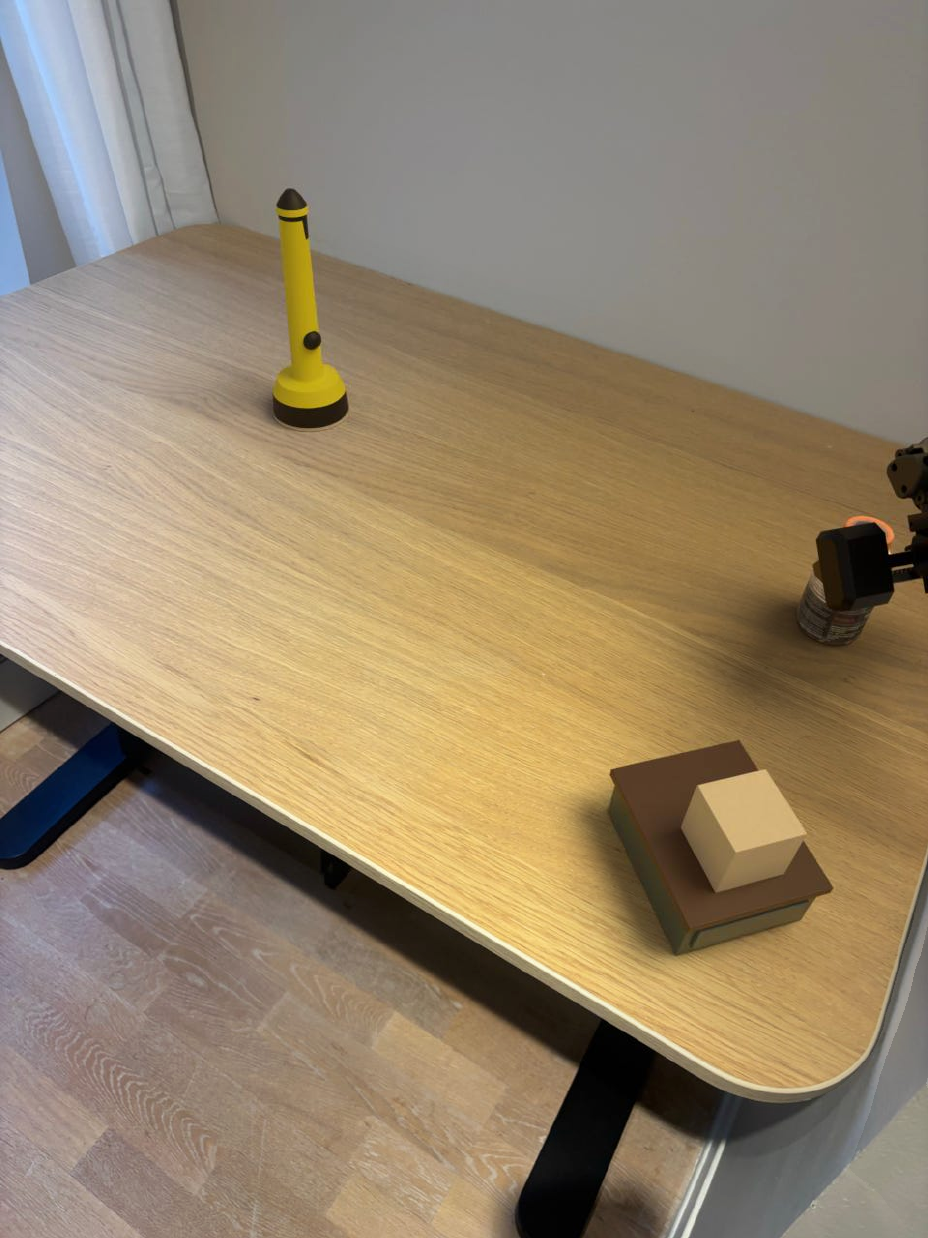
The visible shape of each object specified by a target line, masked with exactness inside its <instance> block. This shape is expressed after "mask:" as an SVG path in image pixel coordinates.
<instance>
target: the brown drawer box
mask: <svg viewBox="0 0 928 1238" xmlns="http://www.w3.org/2000/svg"><path fill="white" fill-rule="evenodd" d="M755 771H759V769H758V767H757V765H756V764H755V762H754V760H752V758H751V756H750V754H749V753H748V751H747V749H746V748H745V747H744V745H743V743H742V742H741V740H740V739H737V740H732V741H728V742H724V743H719V744H715V745H710V746H706V747H702V748H698V749H693V750H689V751H684V752H680V753H676V754H670V755H667V756H666V755H665V756H663V757H658V758H653V759H649V760H646V761H641V762H637V763H632V764H628V765H623V766H618V767H615V768H611V769H610V771H609V777H610V779H611V781H612V784H613V785H614V786H613V790H612V793H611V796H610V800H609V803H608V807H607V814H608V816H609V818H610V820H611V822H612V824H613V826H614V828H615V830H616V833H617V835H618V837H619V840H620V841H621V843H622V846H623V848H624V849H625V852H626V854H627V856H628V859H629V860H630V863H631V865H632V866H633V867H632V868H634V871H635V873H636V875H637V877H638V878H639V881H640V883H641V885H642V888H643V890H644V892H645V895H646V896H647V898H648V901H649V902H650V904H651V906H652V907H651V908H652V909H653V911H654V913H655V915H656V917H657V919H658V921H659V924H660V926H661V928H662V931H663V932H664V934H665V936H666V939H667V940H668V943H669V945H670V947H671V949H672V951H673V954H674V956H676V957H677V956H680V955H684V954H687V953H691V952H694V951H698V950H701V949H705V948H708V947H711V946H715V945H718V944H722V943H726V942H729V941H733V940H736V939H740V938H742V937H746V936H751V935H754V934H757V933H760V932H764V931H767V930H771V929H775V928H778V927H783V926H785V925H788V924H792V923H795V922H799V921H802V919H803V918H804V916H805V915H806V913H807V912H808V910H809V909H810V907H811V906H812V905H813V903H814V902H815V900H816V899H817V898H818V897H821V896H825V895H828V894H831V893H832V891H833V890H834V886H833V884H832V883H831V881H830V879H829V878H828V877H827V875H826V873H825V872H824V870H823V869H822V867H821V866H820V864H819V863H818V860H816V858H815V856H814V855H813V854H812V852H811V850H810V849H809V847H808V846H807V844H806V842H805V841H804V840H803V842H802V844H801V845H800V847H799V849H798V850H797V852H796V854H795V855H794V857H793V859H792V861H791V862H790V864H789V866H788V867H787V869H786V871H785V873H784V874H783V875H779V876H776V877H772V878H768V879H765V880H761V881H757V882H754V883H750V884H746V885H743V886H739V887H735V888H732V889H728V890H724V891H721V892H717V893H715V891H714V889H713V887H712V885H711V883H710V882H709V880H708V878H707V876H706V874H705V872H704V870H703V868H702V867H701V865H700V863H699V861H698V859H697V857H696V855H695V853H694V852H693V850H692V848H691V846H690V844H689V842H688V840H687V838H686V837H685V835H684V833H683V831H682V829H681V825H682V823H683V820H684V818H685V815H686V813H687V810H688V808H689V805H690V803H691V800H692V797H693V795H694V792H695V790H696V787H697V786H698V785H701V784H705V783H709V782H714V781H718V780H722V779H726V778H730V777H734V776H739V775H743V774H747V773H751V772H755Z"/></svg>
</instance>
